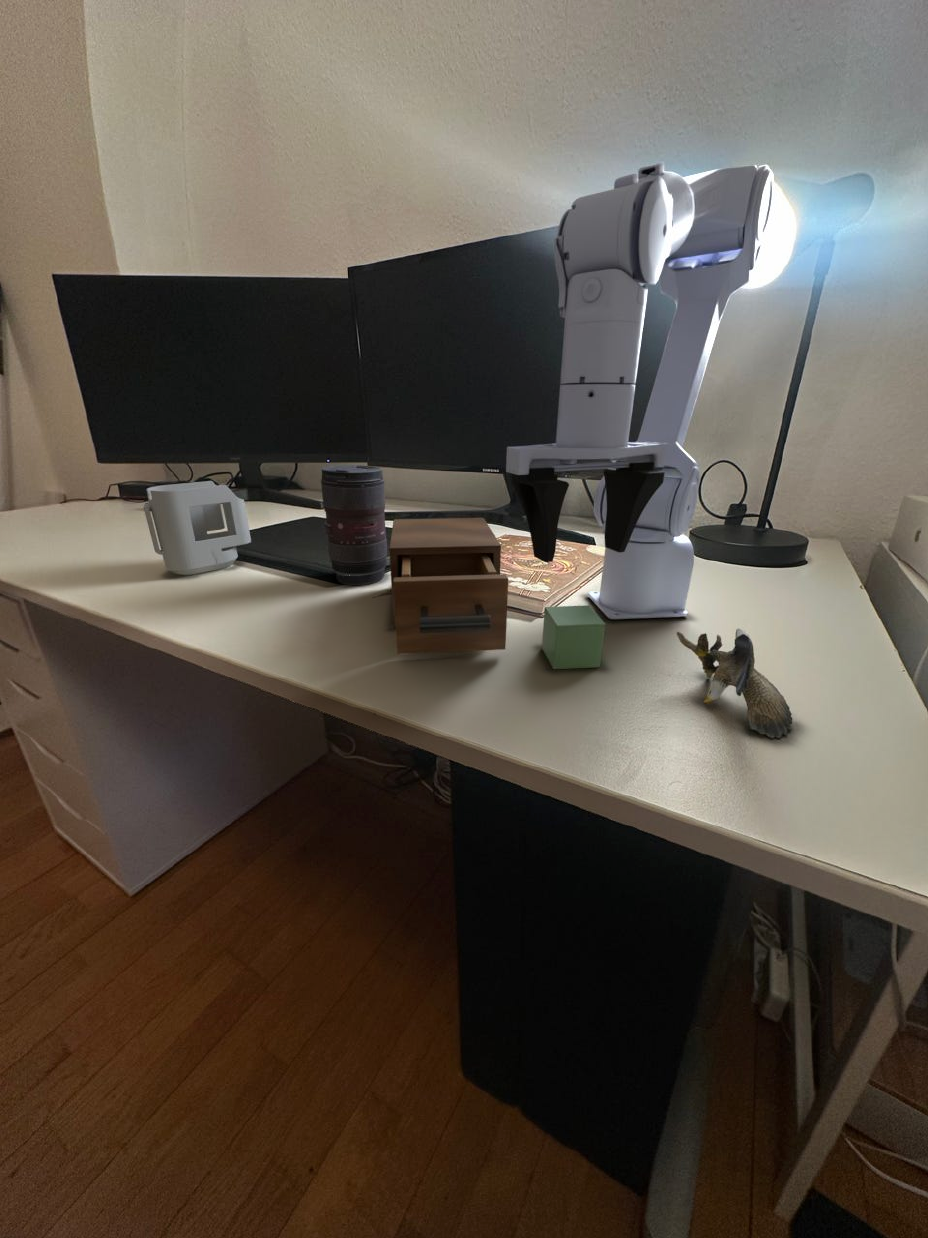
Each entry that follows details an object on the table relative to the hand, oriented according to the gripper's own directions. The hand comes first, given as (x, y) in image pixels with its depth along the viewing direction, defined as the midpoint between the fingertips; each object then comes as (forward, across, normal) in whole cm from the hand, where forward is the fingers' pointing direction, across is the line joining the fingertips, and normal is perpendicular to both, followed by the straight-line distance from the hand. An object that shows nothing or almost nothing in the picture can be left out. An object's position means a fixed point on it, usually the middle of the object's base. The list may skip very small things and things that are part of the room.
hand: (580, 554), depth 44 cm
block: (+10, 0, 0) cm, 10 cm away
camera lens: (+11, +14, -31) cm, 36 cm away
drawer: (+10, +10, -8) cm, 16 cm away
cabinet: (+10, +6, -18) cm, 22 cm away
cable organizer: (+11, +33, -45) cm, 57 cm away
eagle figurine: (+11, -8, +12) cm, 18 cm away
